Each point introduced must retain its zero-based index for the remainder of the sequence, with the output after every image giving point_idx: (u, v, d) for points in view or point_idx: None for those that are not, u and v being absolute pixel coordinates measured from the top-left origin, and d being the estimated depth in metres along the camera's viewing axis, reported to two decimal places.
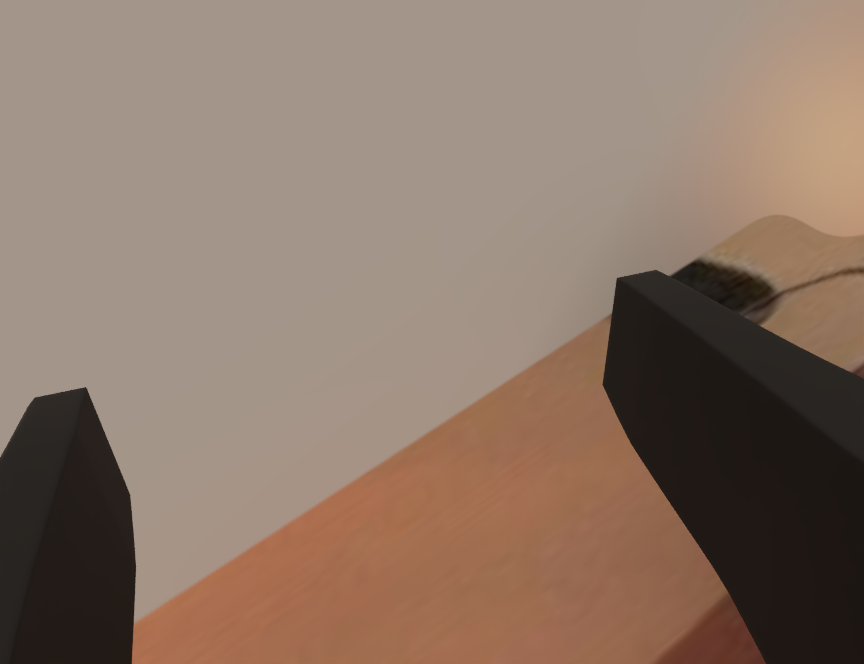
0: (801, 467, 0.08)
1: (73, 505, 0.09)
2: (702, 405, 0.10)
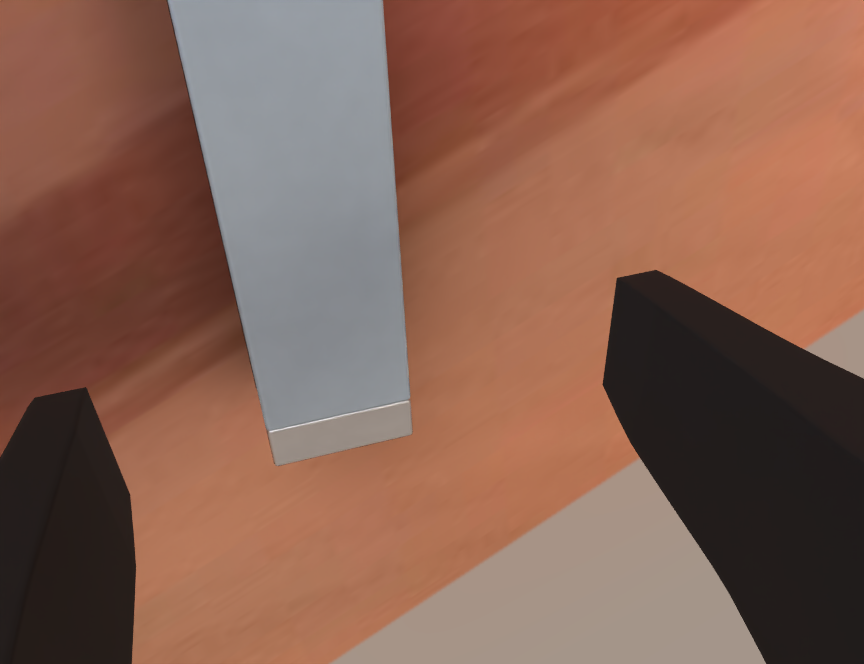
0: (801, 467, 0.08)
1: (73, 505, 0.09)
2: (702, 405, 0.10)
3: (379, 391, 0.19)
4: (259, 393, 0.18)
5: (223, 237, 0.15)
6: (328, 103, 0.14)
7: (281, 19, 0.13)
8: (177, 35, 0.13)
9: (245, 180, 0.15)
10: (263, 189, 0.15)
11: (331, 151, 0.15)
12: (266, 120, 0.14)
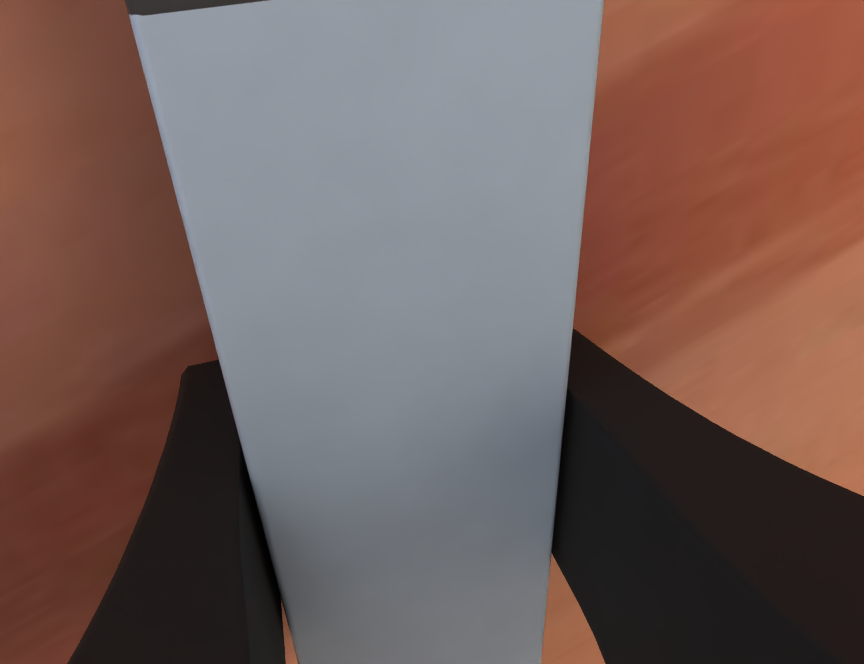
0: (634, 512, 0.08)
1: None
2: None
3: None
4: None
5: (282, 593, 0.09)
6: (469, 408, 0.08)
7: (404, 301, 0.07)
8: (217, 342, 0.07)
9: (323, 522, 0.09)
10: (351, 529, 0.09)
11: (465, 469, 0.09)
12: (364, 442, 0.08)
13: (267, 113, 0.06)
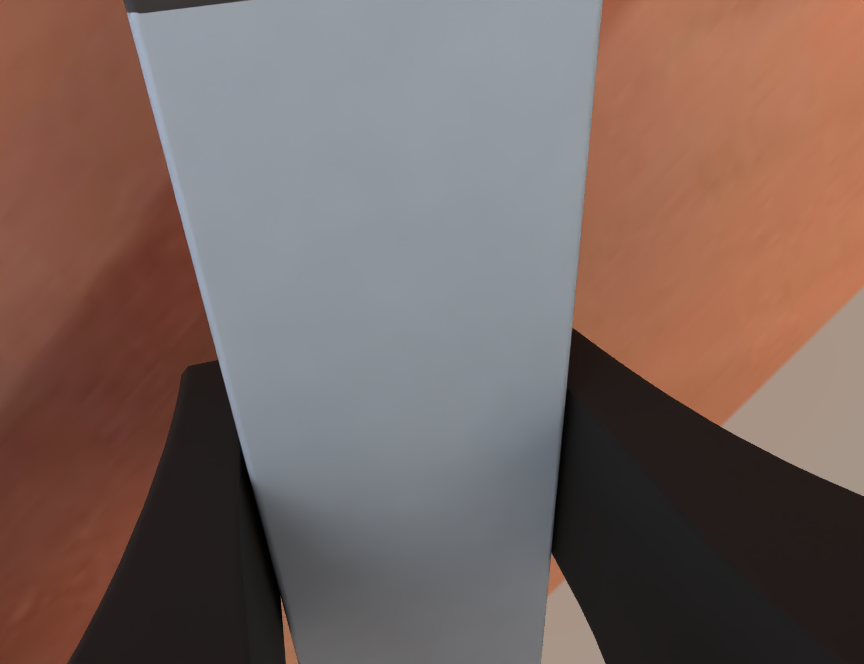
0: (634, 511, 0.08)
1: None
2: None
3: None
4: None
5: (281, 592, 0.09)
6: (468, 407, 0.08)
7: (403, 299, 0.07)
8: (216, 340, 0.07)
9: (322, 521, 0.09)
10: (350, 529, 0.09)
11: (464, 468, 0.09)
12: (364, 441, 0.08)
13: (265, 111, 0.06)
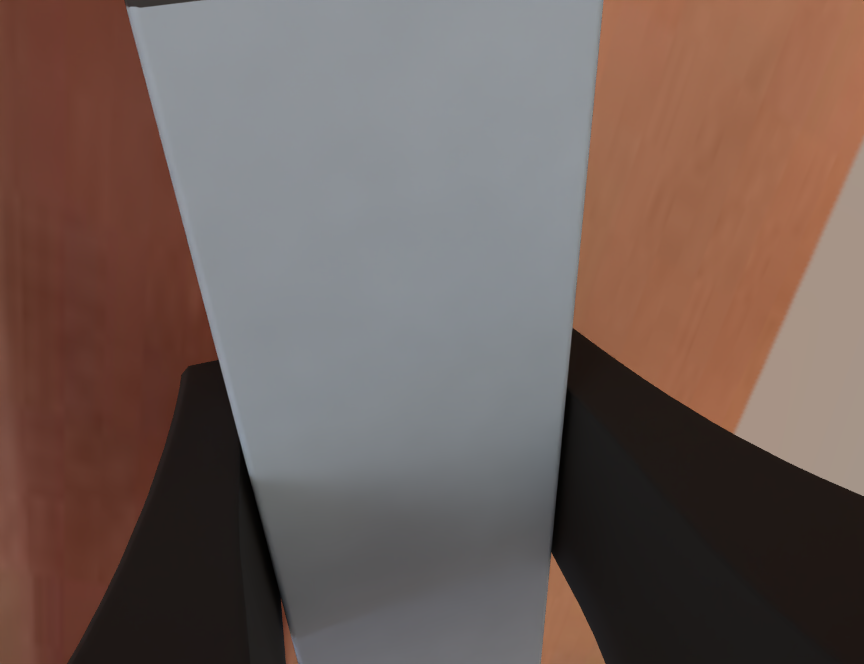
0: (635, 511, 0.08)
1: None
2: None
3: None
4: None
5: (281, 591, 0.09)
6: (468, 405, 0.08)
7: (403, 296, 0.07)
8: (215, 337, 0.07)
9: (322, 519, 0.09)
10: (350, 527, 0.09)
11: (465, 466, 0.09)
12: (363, 439, 0.08)
13: (265, 106, 0.06)
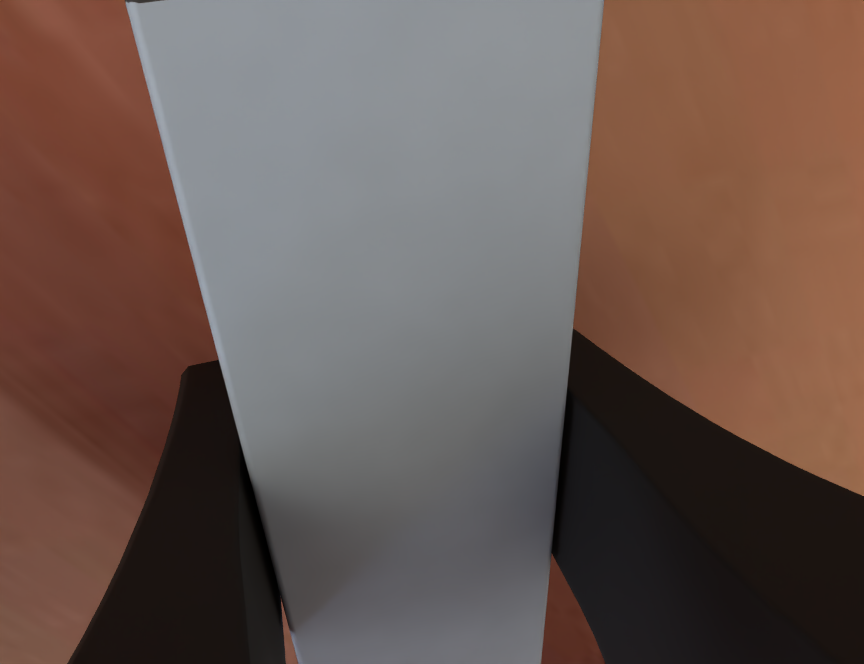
0: (635, 512, 0.08)
1: None
2: None
3: None
4: None
5: (281, 589, 0.09)
6: (469, 403, 0.08)
7: (404, 294, 0.07)
8: (215, 335, 0.07)
9: (322, 518, 0.09)
10: (350, 524, 0.09)
11: (465, 464, 0.09)
12: (364, 437, 0.08)
13: (265, 103, 0.06)
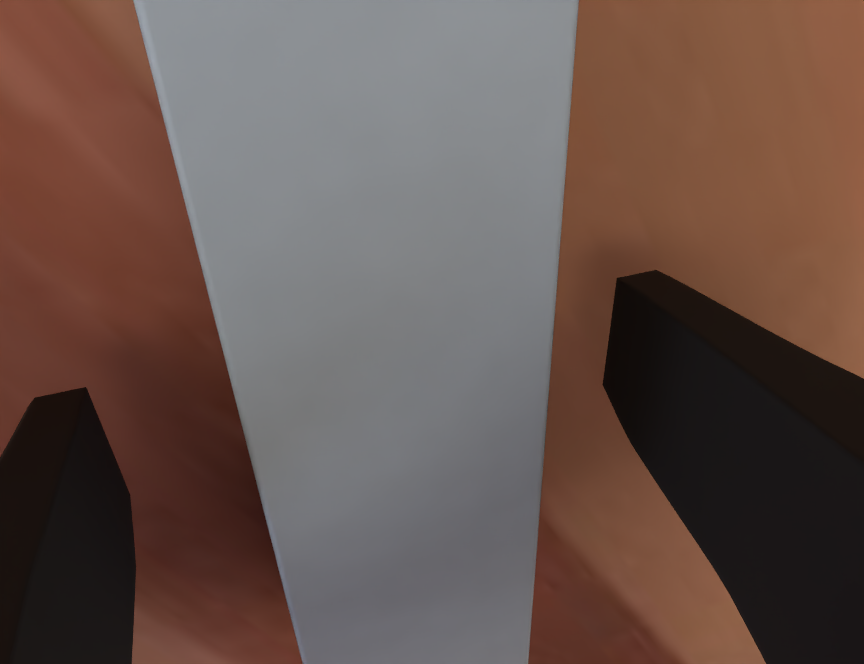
0: (801, 467, 0.08)
1: (74, 505, 0.09)
2: (702, 405, 0.10)
3: None
4: None
5: (277, 555, 0.10)
6: (456, 372, 0.09)
7: (393, 263, 0.08)
8: (213, 301, 0.07)
9: (316, 484, 0.09)
10: (344, 491, 0.09)
11: (453, 433, 0.09)
12: (355, 404, 0.09)
13: (260, 76, 0.06)
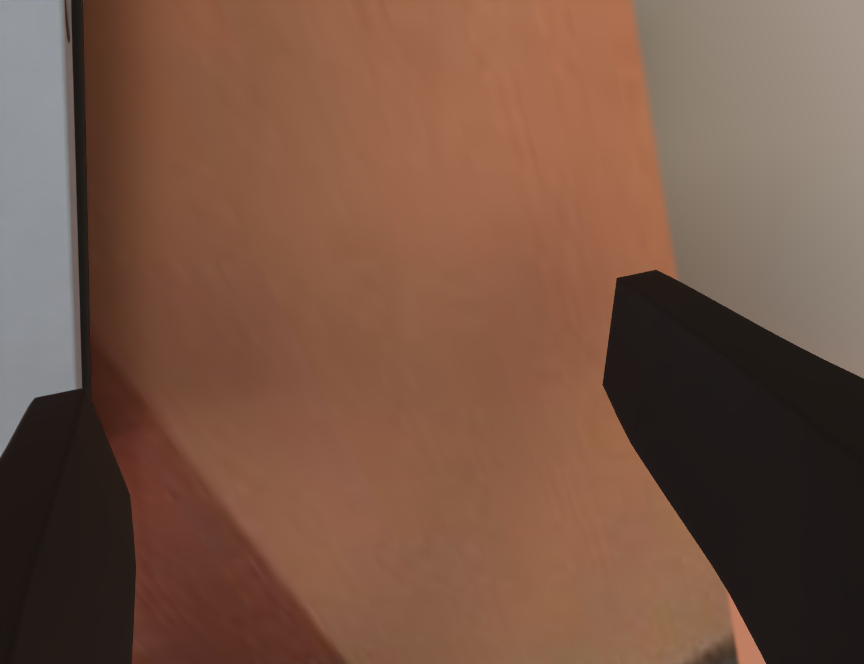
0: (801, 467, 0.08)
1: (73, 505, 0.09)
2: (702, 405, 0.10)
3: None
4: None
5: None
6: (1, 237, 0.14)
7: None
8: None
9: None
10: None
11: (2, 281, 0.15)
12: None
13: None
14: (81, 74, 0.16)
